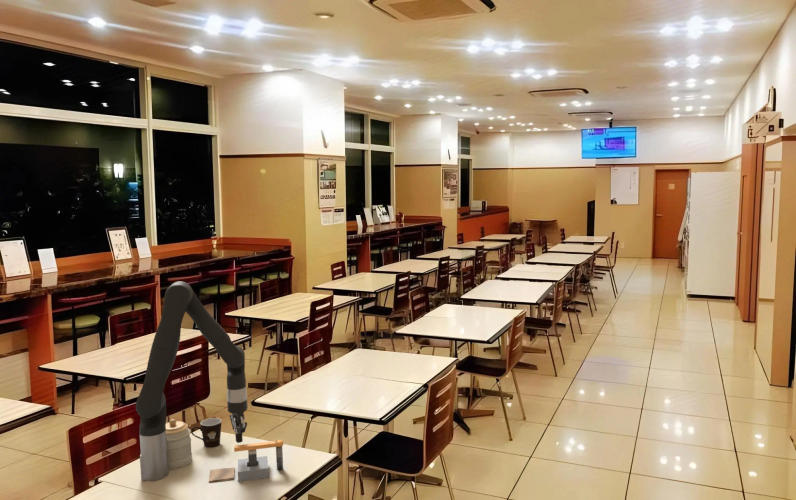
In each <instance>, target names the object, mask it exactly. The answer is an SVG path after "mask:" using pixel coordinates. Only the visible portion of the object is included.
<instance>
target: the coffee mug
mask: <svg viewBox="0 0 796 500" xmlns="http://www.w3.org/2000/svg"><path fill="white" fill-rule="evenodd" d="M199 424H200V426H194V427H192V428H191V433H190V434H192V436H193V437H195V438H197V439H200V440H201V441H202V442H203V446H204V447H205V448H208V449H212V448H217V447H218V446H220V445H221V437H222V436H221V431H222V419H221V418H219V417H210V418H206V419H203V420H201V422H200V423H199ZM195 429H199V431H200V432H201V436H202V437H200V436H198V435H195V434H194V432H193V431H194V430H195Z"/></svg>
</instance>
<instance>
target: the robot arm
mask: <svg viewBox="0 0 796 500" xmlns="http://www.w3.org/2000/svg"><path fill="white" fill-rule="evenodd" d="M185 313H186V314H187V315H188V316H189V317H190V319H191V320H192V321H193V322H194V324H195V325H196V327H197V329H198V330H199V332H200V333H201V335H202V336H203V337H204V339H205V340H207V342H208V343H209V344H210V345H211V346H212V347H213V348H214V350H215V351H216V352H217V354H218V355H219V356H220V358H221V359H222V361H223V362H224V363H225V364H226V369H227V370H226V371H227V374H226V407H227V412H228V413H230V414H229V420H230V423H231V426H232V430H234V433H235V434H234V435H235V442H236V443H238V444H239V443H240V444H241V443H242V442H243V441H244V439H243V433H245V432H246V429H247V426H248V423H247V422H246V421H245V420H246V418H245V417H246V415H245V414H244V413H245V412H246V411H248V405H249V404H248V390H247V382H246V381H247V380H246V379H247V378H246V372H245V369H246V356H245V355H246V354H245V351H244V349H243V348H242V347H241V346H239V345H236V344H235V343H234V342H233V341H232V340H231V337H230V335H229V334H228V333H227V332H226V331H225V330H226V329H224V328H223V327H222V325H220V324H219V322H217V320H216V319H215V318H214V317H213V316H212V315H211V313H210V312H209V311H208V310H207V309H206V308H205V306H204V305H203V304H202V302H201V301H200V300H199V298H198V296H197V294H196V293H195V291H194V290H193V288H192V286H191V285H190V284H189V283H188V282H185V281H179V280H178V281H175V282H173V283H171V285H169V286H168V288H167V289H166V291H165V293H164V299H163V307H162V311H161V318H160V321H159V323H158V326H157V329H156V331H155V334H154V337H153V340H152V344H151V347H150V351H149V356H148V360H147V366H146V372H145V377H144V381H143V383H142V386H141V389H140V392H139V394H138V397H137V399H136V403H135V410H136V413H137V414H138V416H140V422H139V423H140V424H139V428H138V429H139V431H138V432H139V445H140V454H139V465H140V479H141V481H146V482H152V481H154V482H155V481H158V480H162V479H164V478H166V477H167V476H168V475H169V469H168V457H167V441H166V423H167V401H166V399H167V398H166V396H165V393H164V389H165V384H166V382H167V380H168V377H169V376H170V373H171V371H172V368H173V366H174V363H175V361H176V358H177V355H178V351H179V346H180V343H181V342H180V341H181V332H182V331H181V330H182V324H183V319H184V315H185Z"/></svg>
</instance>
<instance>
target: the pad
mask: <svg viewBox="0 0 796 500" xmlns="http://www.w3.org/2000/svg"><path fill="white" fill-rule="evenodd" d="M232 480H235V467H234V466H233V467H226V468H218V469H210V471H209V478H208V483H215V482H222V481H232Z"/></svg>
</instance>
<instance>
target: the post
mask: <svg viewBox="0 0 796 500" xmlns="http://www.w3.org/2000/svg"><path fill="white" fill-rule="evenodd" d="M275 455H276V458H275V460H276V471H279V472H280V471H283V470H284V458H283V446H281V447H275Z"/></svg>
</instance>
